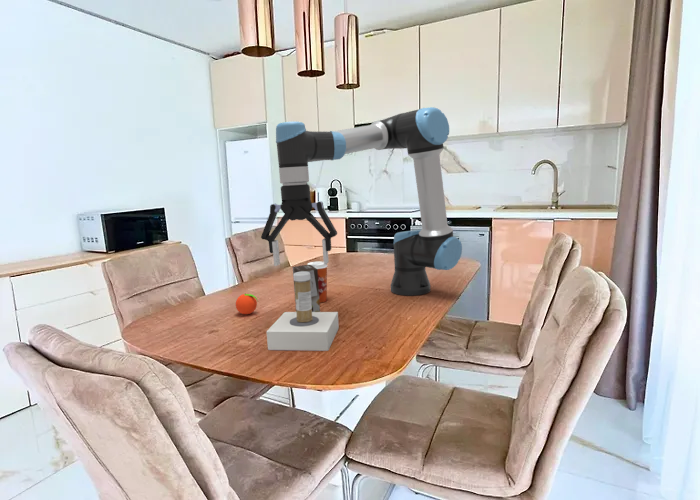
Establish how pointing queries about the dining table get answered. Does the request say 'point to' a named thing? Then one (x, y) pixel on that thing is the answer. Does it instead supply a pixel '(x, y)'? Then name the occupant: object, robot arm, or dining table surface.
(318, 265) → the paper cup
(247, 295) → the clementine
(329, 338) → the plinth
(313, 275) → the coffee box
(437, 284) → the dining table surface
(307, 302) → the sprinkles bottle
